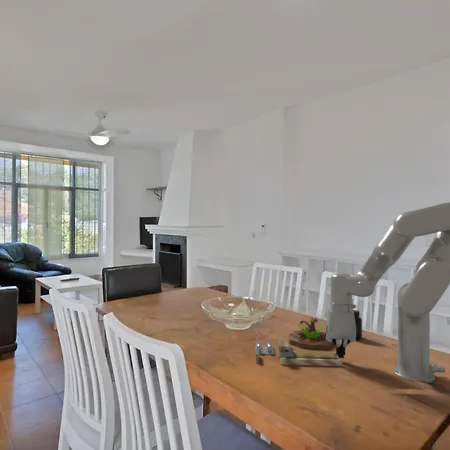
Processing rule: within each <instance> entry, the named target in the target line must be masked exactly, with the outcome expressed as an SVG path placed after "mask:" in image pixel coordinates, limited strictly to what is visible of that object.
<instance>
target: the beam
mask: <svg viewBox="0 0 450 450" xmlns="http://www.w3.org/2000/svg"><path fill="white" fill-rule="evenodd" d="M289 347H290V346H289V342H288V340H287V339H278V358H280V365H290V366H291V365H292V366H293V365H294V366H327V367H328V366H329V367H330V366H331V367H342V366H343V361H342V358H338V356H337V355H336V351H335V352H334V351H333V352H334V359H306V358H283V355H282V350H289ZM293 351H294V354H295V350H293ZM255 363H257V364H259V363H260V354H259V349H256V354H255Z"/></svg>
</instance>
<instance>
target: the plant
mask: <svg viewBox="0 0 450 450" xmlns="http://www.w3.org/2000/svg"><path fill="white" fill-rule="evenodd" d="M303 323H305V324H306V325H307V327H306V326H303V327H304V328H303V327H299V329H300V330H294V331H293V332H291V333H289V334H288V335H289V336H288V341H289V342H288V345H290V346H295V347H297V348H300V349H304V350H313V351H329V350H331V348H332V347H333V346H334V345H335V344H334V343H333V342H330V341H327V340H326V335H327V334H326V331H324V332H323V331H322V330H323V329H324V328H323V327H320V328H317V327H316V325H315V324H316V323H319V320H318V319H316V318H313V317H311V318H310V319H309V323H308V322H307V321H305V320H300V321H299V325H303Z"/></svg>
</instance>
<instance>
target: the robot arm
mask: <svg viewBox="0 0 450 450" xmlns="http://www.w3.org/2000/svg"><path fill="white" fill-rule="evenodd" d="M432 234H435V236H434V239H433V240H432V242H431V243H430V245H429V247H428V248H427V249H426V252H425V253H424V254H423V256H422V257H421V258H420V260H419V261H418V262H417V264H416V267H415V273H414V275H413V277H412V278H411V279H410V281H409V282H407V283H405V284H402V286H401V287H400V288H399V290H398V292H397V316H398V317H397V319H398V321H397V323H398V324H397V327H398V328H397V341H398V342H397V352H398V353H397V365H395V366H394V367H393V368H392V371H393V372H394V373H395V374H396V375H398V376H400V377H402V378H404V379H407V380H412V381H417V382H425V383H427V384H430V383H433V382H434V381H435V380H436V377H435V374H436V373H445V372H446V368H445V367H444V366H439V365H437V364H436V363H435V364H432V363H430V362H431V361H430V360H431V359H430V357H431V354H430V353H431V352H430V347H431V346H430V344H431V341H430V340H431V339H430V338H431V337H430V336H431V334H430V331H431V330H430V329H431V327H430V326H431V320H430V319H431V318H430V313H431V312H432V311H433V310H434V308H435V307H436V305H437V303H439V301H440V300H441V298H442V297H443V295H444V293H446V291H447V289H448V288H449V286H450V202H443V203H439V204H435V205H431V206H427V207H424V208H420V209H419V208H418V209H414V210H409V211H405V212H402V213H399V214H398V216H396V218H394V220H393V222H392V223H391V224H390V226H388V229H387V230H386V232H385V233H384V234H383V236H381V238H380V240H379V241H378V243H377V244H376V245H375V247H374V249H373V250H372V252H371V254H370V256H369V257H368V259H367V260H366V261H365V263H364V264H363V266H362V267H361V269H360V270H359V271H358V273H357V274H356V275H354V276H352V275H351V274H349V273H341V272H339V273H333V274H331V276H330V308H329V309H328V310H327V314H326V321H325V322H326V323H325V333H326V334H327V335H326V340H327V341H330V342H333V343H334V344H333V345H335V352H336V355H337V358H338V359H344V358H345V356H346V348H347V347H348V345H349V344H351V343H355V342H356V341H357V340H356V338H355V337H356V324H355V316H354V312H353V311H352V310H355V309H357V305H356V304H353V296H355V297H359V298H368V297H370V296H372V295H373V294H374V292H375V288H376V285H377V284H378V282H379V281H380V280H381V279H382V277H383V276H384V275H385V273H386V272H387V271H389V270H388V269H390V268H391V267H392V266H393V265H395V264H396V263H397V262H398V261H399V259H401V257H402V256H403V254H404V253H405V252H406V250H407V249H408V247H409V246H410V244H411V243H412V242H413V241H414V239H415V238H416V237H423V236H426V235H432ZM340 340H341V343H340Z"/></svg>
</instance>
